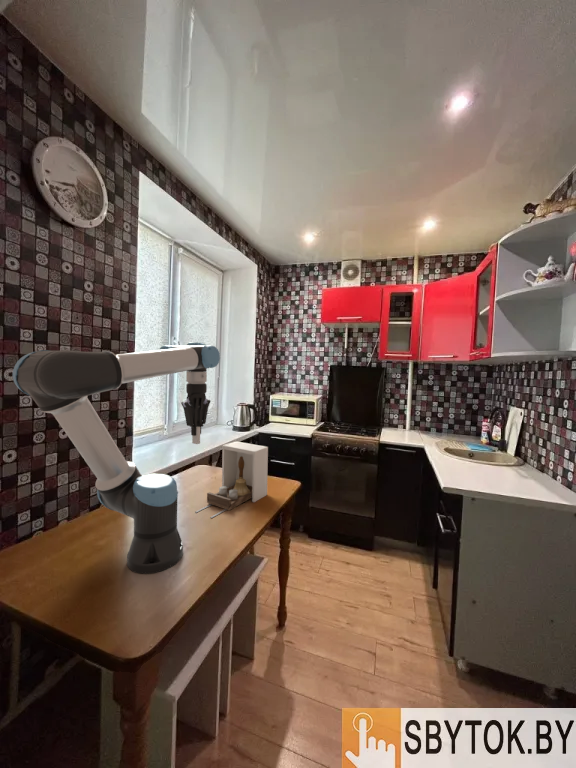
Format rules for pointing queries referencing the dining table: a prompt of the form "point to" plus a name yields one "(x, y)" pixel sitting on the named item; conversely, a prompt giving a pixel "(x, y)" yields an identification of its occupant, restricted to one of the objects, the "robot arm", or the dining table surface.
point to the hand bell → (241, 480)
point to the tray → (228, 497)
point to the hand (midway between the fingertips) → (196, 443)
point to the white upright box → (245, 468)
